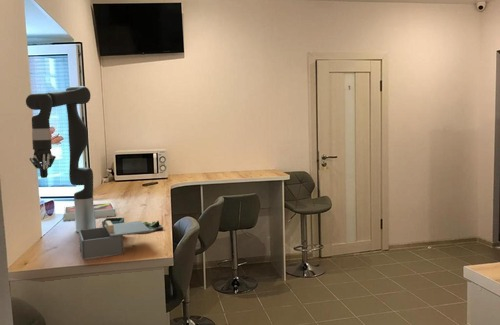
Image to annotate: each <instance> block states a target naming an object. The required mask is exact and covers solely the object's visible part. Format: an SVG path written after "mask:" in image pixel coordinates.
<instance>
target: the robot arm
mask: <svg viewBox="0 0 500 325" xmlns="http://www.w3.org/2000/svg"><path fill="white" fill-rule="evenodd" d="M90 91H91V90H90V89H89V88H88V87H87V86H83V85H78V86H77V85H71V86H67V87H66V88H65V90H58V91H57V90H54V91H48V92H42V93H41V92H40V93H31V94H29V95H28V96H27V97H26V98H25V105H26V106H27V107H28V108H29V109H30V110H34V111H37V110H38V111H39V113H38V114H36V115H33V116H32V117H31V140H32V150H33V151H34V152H33V156H32V157H29V162H31V164H32V165H33V166H34V168H35V169H39V176H40V178H41V179H45V178H46V179H47V178H48V176H49V174H48V169H49V168H51V167H52V165H53V164H54V162H55V160H56V156H55V155H53V154H52V151H51V150H52V131H51V127H50V126H51V125H50V123H51V122H50V118H51V114H52V109H53V108H56V107H61V106H65V107H66V113H67V122H68V123H67V125H68V144H69V145H68V146H69V167H68V168H69V170H68V172H69V183H70V184H71V185H72V186H83V189H81V190H80V191H77V192H74V194H73V199H74V200H73V201H74V206H75V220H74V221H75V232H77V233H79V230H85V229H93V228H97V226H96V225H97V224H96V222H97V221H96V220H97V219H96V218H95V211H94V171H93V170H92V168H91V167H80V166H79V164H80V159H81V157H82V155H83V153H84V151H85V150H86V147H87V146H88V143H89V132H88V128H87V126H86V124H85V122H84V121H83V119H82V118H81V116H80V114H79V111H78V105H85V104H88V103H89V101H90V100H91V95H92V94H91V92H90Z"/></svg>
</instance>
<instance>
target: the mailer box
mask: <svg viewBox="0 0 500 325" xmlns="http://www.w3.org/2000/svg"><path fill="white" fill-rule="evenodd" d="M78 243H79V244H78V245H79V249H80V254H81V256H82V260H83V261H86V260H87V261H88V260H95V259H100V258H107V257H113V256H119V255H120V256H121V255H124V235H120V236H113V237H111V236H110V235H109V233H108V232H107V230H106V228H105V227H103V226H101V227H96V228H93V229H85V230H79V232H78Z"/></svg>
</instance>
